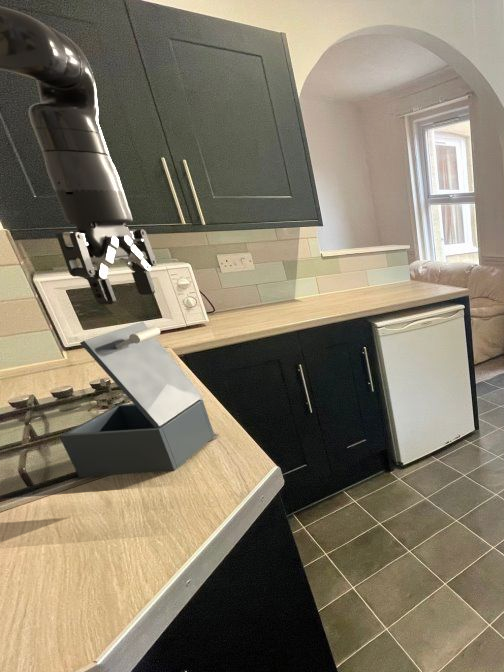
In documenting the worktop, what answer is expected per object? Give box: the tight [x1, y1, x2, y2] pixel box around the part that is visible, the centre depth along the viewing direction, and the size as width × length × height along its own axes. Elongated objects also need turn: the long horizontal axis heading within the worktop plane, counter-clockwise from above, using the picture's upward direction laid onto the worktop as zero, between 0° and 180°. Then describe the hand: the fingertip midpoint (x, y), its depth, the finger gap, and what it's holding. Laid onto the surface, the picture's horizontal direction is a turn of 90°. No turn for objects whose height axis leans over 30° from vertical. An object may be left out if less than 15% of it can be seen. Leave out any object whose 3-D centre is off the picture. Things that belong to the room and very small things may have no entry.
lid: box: [79, 321, 205, 428], centre depth 73 cm, size 16×13×5 cm
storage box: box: [59, 399, 216, 478], centre depth 77 cm, size 16×13×10 cm
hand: (128, 298), depth 68 cm, fingers open, 8 cm apart
